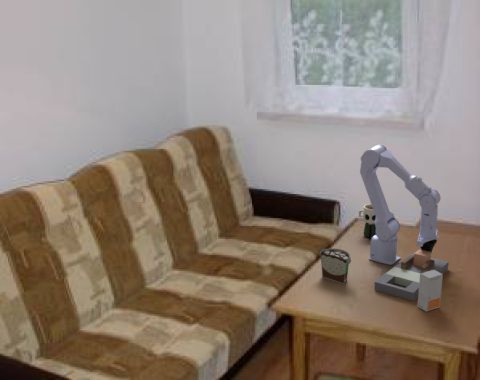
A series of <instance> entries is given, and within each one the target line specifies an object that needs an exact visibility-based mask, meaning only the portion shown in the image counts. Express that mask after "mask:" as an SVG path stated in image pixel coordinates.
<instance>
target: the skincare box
mask: <svg viewBox="0 0 480 380" xmlns="http://www.w3.org/2000/svg"><path fill="white" fill-rule="evenodd" d="M443 276H444V273H443V274H441V273H439V272H437V271H435V270H431V271H427V272H424V273H421V274H420V281H419V294H418V297H417V308H419V309H421V310H423V311H425V312H429V311H432V310H436V309H440V308H441V301H442V300H441V299H442V298H441V297H442V290H443V289H442V288H443Z"/></svg>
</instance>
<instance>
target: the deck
mask: <svg viewBox="0 0 480 380" xmlns="http://www.w3.org/2000/svg"><path fill="white" fill-rule="evenodd" d="M414 253H415V252H412V253H410V254H409V255H408V256H410V255H414ZM408 256H407V257H408ZM407 257H405V258H404V259H403V260H405V259H406V258H407ZM403 260H401V261H400V262H398V263H397V264H396V265H394V266H393V267H392V268H391V269H389V270H388V271H387V272H386V273H384V274H383V275H381V276H380V277H379V278H378V279H376V280H374V290H375V291H376V292H377V291H378V292H381V293H385V294H389V295H390V296H391V295H392V296H395V297H398V298H402V299H404V300H408V301H411V302H413V301H415V300H416V299H418V294H419V281H420V274H421V267H420V266H416V265H413V264H414V263H412V264H411V265H410V266H409V267H407V268H406V269H401V262H402V261H403ZM431 260H435V262H434V267H433V268H432V269H431V270H435V271H437V272H439V273H441V274H443V275H444V274H445V273H446V272H447V271H448V270H449V261H446V260H442V259H437V258H434V257H431ZM431 270H430V271H431Z"/></svg>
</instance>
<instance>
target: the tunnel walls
mask: <svg viewBox="0 0 480 380" xmlns="http://www.w3.org/2000/svg"><path fill="white" fill-rule="evenodd" d="M409 255H410V254H409ZM409 255H408V256H407V258H406V257H405V258H406V259H405V258H404V259H405V260H404V259H403V260H401V261H402V262H401V261H400V262H401V269H406V268H407V267H409V266H410V265H411V264H412V263H414V255H410V256H409ZM434 262H435V260H429V261H428V262H427V263H426V264H424V265H423V266H422V267H421V273H424V272H427V271H430V270H431V269H432V268H433V267H434Z"/></svg>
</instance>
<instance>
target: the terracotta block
mask: <svg viewBox="0 0 480 380" xmlns="http://www.w3.org/2000/svg"><path fill="white" fill-rule="evenodd" d="M413 253H414V264H413V265H416V266H420V267H422V266H423V265H424V264H426V263H427V262H428V261H429V260H431V258H432V253H431V252H429V251H424V250H421V248H420V249H418V250H417V251H415V252H413Z"/></svg>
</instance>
